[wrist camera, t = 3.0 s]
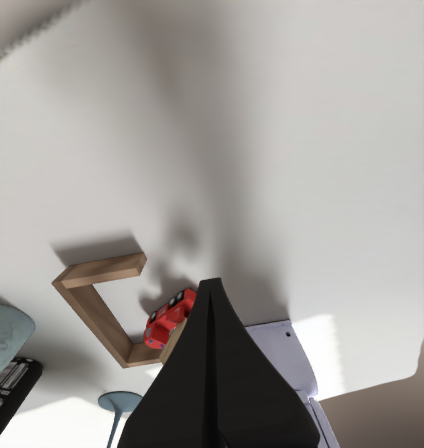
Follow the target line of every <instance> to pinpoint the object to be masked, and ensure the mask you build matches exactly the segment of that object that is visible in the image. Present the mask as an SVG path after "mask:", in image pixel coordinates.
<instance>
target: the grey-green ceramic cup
mask: <svg viewBox="0 0 424 448" xmlns="http://www.w3.org/2000/svg"><path fill="white" fill-rule="evenodd" d="M34 330H35V324H34V322H33V321H32V319H31V318H30V317H29V316H28V315H26V314H25V313H23V312H21V311H20V310H17V309H16V308H13V307H11V306H7V305H3V304H0V374H1V372H2V370H3V369H4V368H5V367H6V366H8V364H9V363H10V362H11V360H12V359H13V358H14V356H15V355H16V354H17V352H18V351H19V350H20V348H21V347H22V346H23V344H24V343H25V342H26V340H27V339H28V338H29V337H30V336H31V334H32V333H33V331H34Z"/></svg>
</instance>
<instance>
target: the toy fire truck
mask: <svg viewBox="0 0 424 448" xmlns="http://www.w3.org/2000/svg"><path fill="white" fill-rule="evenodd" d="M196 294H197V293H195V292H194V291H192V290H191V289H189V288H188V289H186V290H185V291H184V292H180V293H179V294H178V295H177V298H175V297H173V298H172V299H171V300H170V302H169V303H168V304H166V305H165V306H164V307H163V308H161V309H160V310H158V312H157V311H155V312H154V313H153V314H152V316H151V317H149V319H148V321H147V325H146V329H145V332H144V342H145V344H146V345H148V346H149V347H151V348H155V349H162V348H164V347H165V348H164V350H163V351H162V353H161V355H160V357H159V359H160V361H161V362H162V364H163V365H164V364H165V362H166V361H167V359H168V357H169V355H170V353H171V352H172V350H173V348H174V346H175V344H176V342H177V340H178V338H179V336H180V334H181V332H182V330H183V328H184V326H185V324H186V321H187V319H188V316H189V314H190V312H191V309H192V306H193V303H194V300H195V297H196ZM175 327H176V328H175ZM173 328H175V330H174V331H173V333H172V335H171V337H170V339H169V340H168V337H169V332H170V330H172V329H173Z"/></svg>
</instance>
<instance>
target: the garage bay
mask: <svg viewBox="0 0 424 448" xmlns="http://www.w3.org/2000/svg"><path fill="white" fill-rule="evenodd" d="M146 261H147V258H146V256H145V254H144V252H143V253H138V254H132V255H127V256H121V257H116V258H110V259H105V260H99V261H94V262H88V263H82V264H77V265H71V266H69V267H67V268H66V269H65V270H64V271H63V272H62V273H61V274H60V275H59V276H58V277H57V278H56V279H55V280H54V281H53V282H52V283H51V284H52V285H53V286H54V287H55V289H56V290H57V291H58V292H59V293H60V294H61V296H62V297H63V298H64V299H65V300H66V302H67V303H68V304H69V305H70V306H71V307H72V309H73V310H74V311H75V312H76V313H77V315H78V316H79V317H80V318H81V319H82V321H83V322H84V323H85V324H86V325H87V326H88V328H89V329H90V330H91V331H92V332H93V334H94V335H95V336H96V337H97V338H98V339H99V341H100V342H101V343H102V344H103V345H104V347H105V348H106V349H107V350H108V351H109V352H110V354H111V355H112V356H113V357H114V358H115V360H116V361H117V362H118V363H119V364H120V366H121V367H122V368H129V367H135V366H141V365H148V364H154V363H160V362H161V361H160V359H159V357H160V355H161V353H162V351H163V350H164V348H165V347H164V348H162V349H155V348H151V347H149V346H148V345H146V344H145V343H139V344H133V343H132V342H131V340H130V339H129V337H128V336H127V334H126V333H125V332H124V330H123V329H122V327H121V326H120V324H119V323H118V321H117V320H116V319H115V317H114V316H113V314H112V313H111V311H110V310H109V308H108V307H107V306H106V304H105V303H104V301H103V300H102V298H101V297H100V296H99V294H98V293H97V291H96V290H95V288H94V287H93V285H92V284H96V283H101V282H107V281H113V280H118V279H124V278H129V277H135V276H140V274H141V272H142V269H143V267H144V265H145V263H146ZM169 339H170V338H169ZM169 339H168V340H169Z"/></svg>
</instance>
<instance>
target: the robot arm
mask: <svg viewBox="0 0 424 448" xmlns="http://www.w3.org/2000/svg"><path fill="white" fill-rule="evenodd" d="M291 324H292V323H291V321H290V320H286V321H280V322H274V323H268V324H262V325H255V326H249V327H244V326H243V324H242V322H241V321H240V319H239V318H238V316H237V314H236V312H235V311H234V309H233V307H232V305H231V303H230V301H229V299H228V297H227V295H226V293H225V290H224V288H223V285H222V281H221V278H219V277H218V278H212V279H207V280H201V281H200V283H199V287H198V291H197V294H196V297H195V300H194V303H193V306H192V309H191V312H190V314H189V316H188V319H187V321H186V324H185V326H184V328H183V330H182V332H181V334H180V336H179V338H178V340H177V342H176V344H175V346H174V348H173V350H172V352H171V353H170V355H169V357H168V359H167V361H166V362H165V364H164V366H163V367H162V369H161V370H160V372H159V374H158V375H157V377H156V378H155V380H154V381H153V383H152V385H151V386H150V388H149V389H148V391H147V392H146V394H145V395H144V396H143V398H142V399H141V401H140V402H139V404H138V405H137V406H136V408H135V409H134V411H133V412H132V413H131V415H130V416H129V418H128V419H127V421H126V423H125V426H124V428H123V431H122V434H121V437H120V440H119V442H118V445H117V448H340V447H339V444H338V442H337V440H336V437H335V435H334V433H333V431H332V428H331V426H330V424H329V422H328V420H327V418H326V415H325V413H324V411H323V409H322V407H321V406H320V404H319V402H317V401H316V400H314V398H313V397H312V396H316V395H317V394H318V386H317V381H316V378H315V375H314V372H313V370H312V367H311V365H310V362H309V360H308V358H307V356H306V354H305V352H304V350H303V348H302V346H301V344H300V342H299V340H298V338H297V336H296V334H295V332H294V330H293V327H292V325H291ZM308 397H311V398H309V400H308ZM309 401H310V403H311V405H310V403H309ZM311 406H312V407H311ZM312 408H313V410H312Z"/></svg>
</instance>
